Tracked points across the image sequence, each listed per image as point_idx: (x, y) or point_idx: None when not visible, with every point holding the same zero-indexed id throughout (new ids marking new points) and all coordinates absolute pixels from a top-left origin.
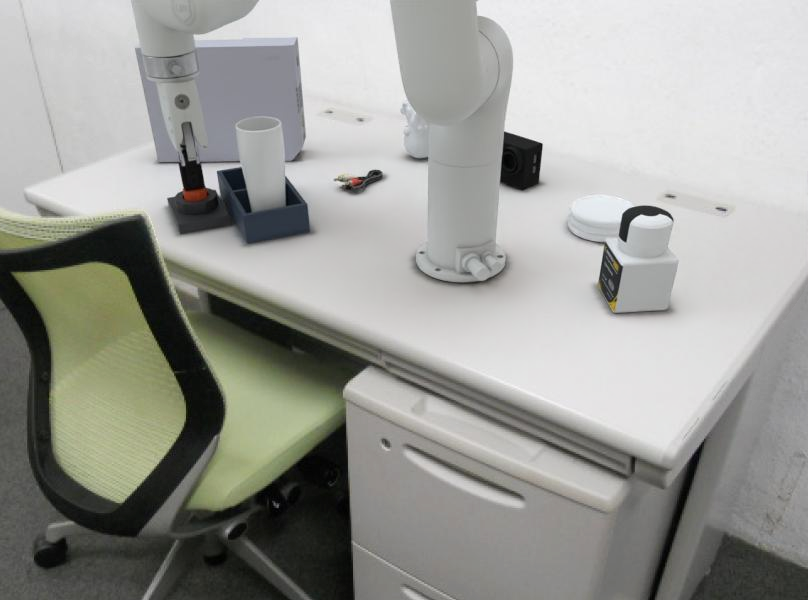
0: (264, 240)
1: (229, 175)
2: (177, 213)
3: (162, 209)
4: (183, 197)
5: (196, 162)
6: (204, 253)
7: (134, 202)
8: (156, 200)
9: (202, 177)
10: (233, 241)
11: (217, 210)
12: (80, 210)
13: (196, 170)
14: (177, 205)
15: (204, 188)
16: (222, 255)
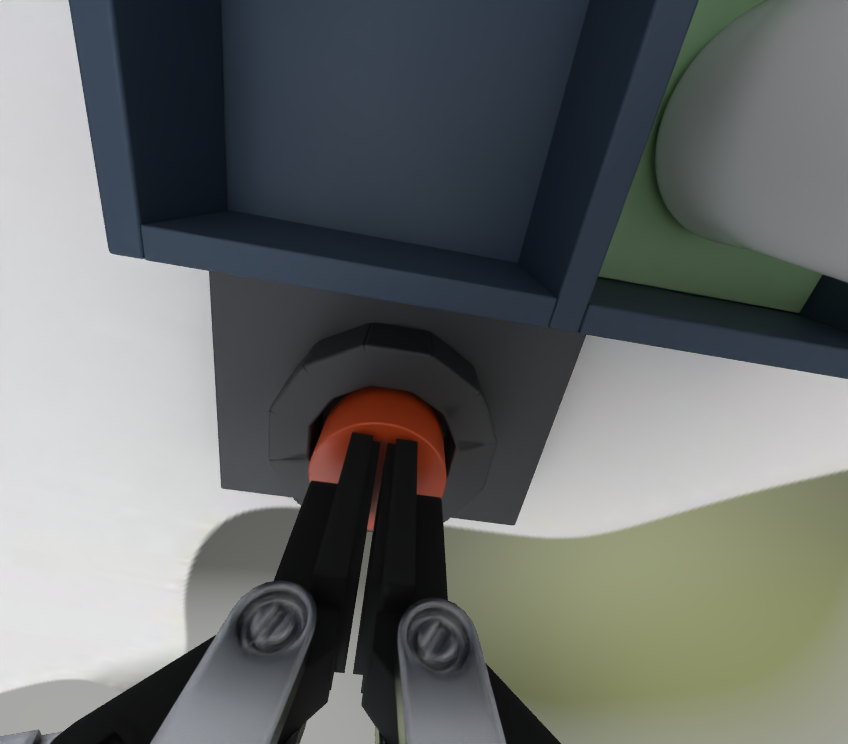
0: None
1: (158, 157)
2: None
3: None
4: None
5: (497, 676)
6: (701, 476)
7: (135, 534)
8: (142, 474)
9: (413, 489)
10: (710, 364)
11: (493, 361)
12: (148, 648)
13: (444, 586)
14: None
15: (418, 440)
16: (770, 436)
